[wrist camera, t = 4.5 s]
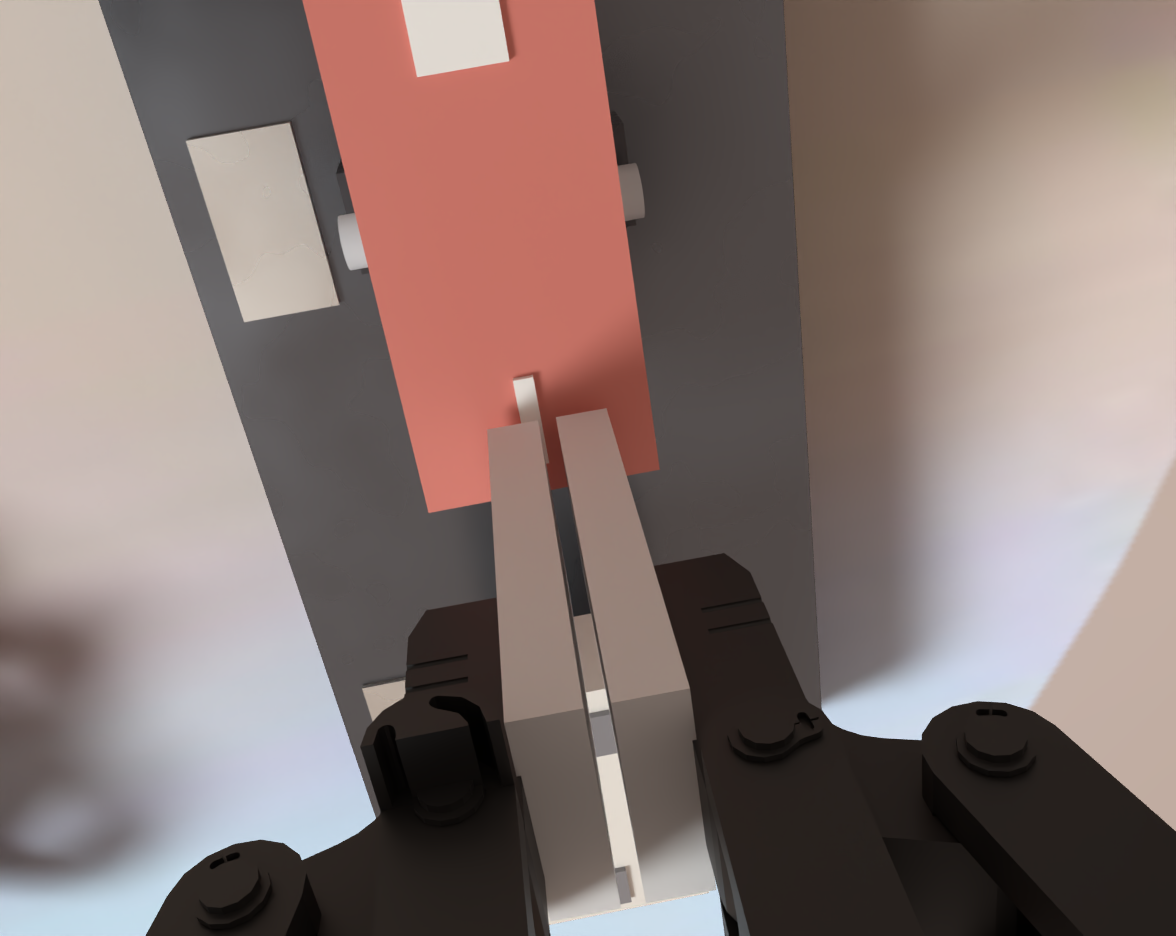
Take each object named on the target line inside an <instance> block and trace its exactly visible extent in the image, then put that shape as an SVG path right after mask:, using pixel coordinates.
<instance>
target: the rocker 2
mask: <svg viewBox="0 0 1176 936" xmlns="http://www.w3.org/2000/svg"><path fill="white" fill-rule="evenodd" d="M574 623H575V629H576V635H577V641H578V647H579V653H580V659H581V666H582V672H583V678H584V684H585V690H586V696H587V702H588V708H589V714H590V721H591V727H592V733H593V739H594V745H595V751H596V757H597V763H598V770H599V776H600V782H601V788H602V794H603V800H604V806H605V812H606V818H607V825H608V831H609V837H610V843H611V849H612V855H613V861H614V867H615V873H616V880H617V886H618V892H619V898H620V904H621V908H619V909H614V910H609V911H603V912H598V913H593V914H588V915H582V916H577V917H572V918H567V919H561V920H556V921H550V917H549V913H548V919H549V925H551V924H556V923H561V922H566V921H571V920H576V919H581V918H586V917H591V916H596V915H601V914H606V913H611V912H616V911H621V910H626V909H631V908H636V907H641V906H646V905H651V904H656V903H661V902H666V901H671V900H676V899H681V898H686V897H691V896H696V895H701V894H706V893H709V891H707V892H702V893H697V894H692V895H687V896H681V897H676V898H671V899H666V900H660V901H655V902H650V903H646V901H645V896H644V890H643V885H642V880H641V875H640V869H639V864H638V859H637V853H636V848H635V843H634V838H633V832H632V827H631V822H630V817H629V811H628V806H627V801H626V795H625V790H624V785H623V780H622V774H621V769H620V764H619V759H618V753H617V748H616V743H615V738H614V732H613V727H612V722H611V716H610V711H609V706H608V701H607V695H606V690H605V685H604V680H603V674H602V669H601V664H600V658H599V653H598V648H597V643H596V637H595V632H594V627H593V622H592V616H591V614H586V615H581V616H575V617H574Z"/></svg>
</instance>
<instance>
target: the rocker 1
mask: <svg viewBox="0 0 1176 936" xmlns="http://www.w3.org/2000/svg"><path fill="white" fill-rule="evenodd" d="M302 1H303V5H304V9H305V13H306V17H307V21H308V25H309V29H310V33H311V37H312V41H313V46H314V50H315V54H316V58H317V62H318V66H319V70H320V74H321V78H322V82H323V86H324V90H325V94H326V98H327V102H328V106H329V111H330V115H331V119H332V123H333V127H334V131H335V135H336V139H337V143H338V147H339V151H340V155H341V159H342V163H343V167H344V171H345V175H346V180H347V184H348V188H349V192H350V196H351V200H352V204H353V208H354V212H355V213H351V214H345V215H340V216H338V230H339V236H340V241H341V246H342V250H343V254H344V257H345V260H346V263H347V266H348V268H349V269H350V270H356V269H362V268H367V267H368V269H369V273H370V277H371V281H372V285H373V289H374V293H375V297H376V301H377V305H378V309H379V314H380V318H381V322H382V326H383V330H384V334H385V338H386V342H387V346H388V350H389V354H390V358H391V362H392V366H393V370H394V374H395V378H396V383H397V387H398V391H399V395H400V399H401V403H402V407H403V411H404V415H405V419H406V423H407V427H408V431H409V435H410V439H411V443H412V447H413V452H414V456H415V460H416V464H417V468H418V472H419V476H420V480H421V484H422V488H423V492H424V496H425V500H426V504H427V508H428V512H429V513H431V512H437V511H442V510H447V509H453V508H458V507H463V506H469V505H474V504H479V503H485V502H490V501H491V487H490V469H489V452H488V435H487V429H493V428H498V427H504V426H509V425H515V424H521V423H526V422H532V421H537V420H538V423H539V428H540V433H541V439H542V444H543V450H544V455H545V460H546V466H547V471H548V477H549V482H550V487H551V490H554V489H559V488H564V487H568V484H567V478H566V472H565V467H564V461H563V455H562V450H561V444H560V438H559V433H558V427H557V421H556V417H560V416H565V415H571V414H576V413H582V412H588V411H593V410H599V409H604V408H607V412H608V415H609V418H610V422H611V425H612V428H613V432H614V435H615V438H616V442H617V445H618V449H619V452H620V455H621V459H622V462H623V465H624V469H625V472H626V475H627V476H628V475H634V474H639V473H644V472H650V471H655V470H660V468H659V461H658V453H657V446H656V439H655V432H654V425H653V417H652V410H651V403H650V396H649V389H648V382H647V374H646V367H645V360H644V353H643V346H642V339H641V331H640V324H639V317H638V310H637V303H636V296H635V288H634V281H633V274H632V267H631V260H630V253H629V245H628V238H627V231H626V224H625V221H628V220H634V219H639V218H644V216H645V207H644V197H643V190H642V184H641V179H640V174H639V170H638V167H637V165H636V163H631V164H626V165H620V166H617V159H616V152H615V145H614V138H613V131H612V124H611V116H610V109H609V102H608V95H607V88H606V81H605V73H604V66H603V59H602V52H601V45H600V38H599V30H598V23H597V16H596V9H595V2H594V0H302Z"/></svg>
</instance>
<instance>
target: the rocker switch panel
mask: <svg viewBox="0 0 1176 936" xmlns="http://www.w3.org/2000/svg"><path fill="white" fill-rule="evenodd" d="M594 2H595V9H596V16H597V23H598V30H599V38H600V45H601V52H602V59H603V66H604V73H605V81H606V88H607V95H608V102H609V109H610V116H611V124H612V131H613V138H614V145H615V152H616V159H617V166H620V165H626V164H631V163H636V165H637V167H638V170H639V174H640V179H641V184H642V190H643V197H644V207H645V216H644V218H639V219H634V220H628V221H625V224H626V231H627V238H628V245H629V253H630V260H631V267H632V274H633V281H634V288H635V296H636V303H637V310H638V317H639V324H640V331H641V339H642V346H643V353H644V360H645V367H646V374H647V382H648V389H649V396H650V403H651V410H652V417H653V425H654V432H655V439H656V446H657V453H658V461H659V468H660V470H655V471H650V472H644V473H639V474H634V475H628V476H627V479H628V482H629V485H630V489H631V492H632V495H633V499H634V502H635V506H636V509H637V512H638V516H639V519H640V522H641V526H642V529H643V532H644V536H645V539H646V542H647V546H648V549H649V553H650V556H651V559H652V563H653V566H656V565H661V564H667V563H672V562H678V561H683V560H689V559H694V558H700V557H705V556H711V555H716V554H722V553H725V554H726V555H728V556H729V557H731V558H732V559H733V560H735V561H736V562H737V563H739V564H740V565H741V566H743V567H744V568H745V569H747V570H748V571H749V572H750V573H751V575H752V577H753V579H754V582H755V584H756V586H757V589H758V591H759V593H760V595H761V599H762V602H764V604H765V607H766V609H767V611H768V614H769V616H770V619H771V623H773V625H774V627H775V629H776V632H777V634H778V636H779V638H780V641H781V643H782V645H783V648H784V650H785V652H786V654H787V657H788V659H789V661H790V663H791V666H792V668H793V670H794V673H795V675H796V677H797V679H798V682H799V684H800V686H801V688H802V691H803V693H804V695H805V698H806V699H807V701H808V702H809V703H810V704H812V705H814V706H816V707H817V708H819V709H821V691H820V672H819V654H818V635H817V617H816V598H815V579H814V561H813V542H812V524H811V505H810V487H809V468H808V450H807V431H806V413H805V394H804V376H803V357H802V339H801V320H800V302H799V283H798V265H797V246H796V228H795V209H794V190H793V172H792V153H791V135H790V116H789V98H788V79H787V61H786V42H785V24H784V5H783V0H594ZM99 3H100V6H101V9H102V12H103V15H104V18H105V21H106V24H107V27H108V30H109V33H110V36H111V39H112V42H113V45H114V48H115V50H116V53H117V56H118V59H119V62H120V65H121V68H122V71H123V74H124V77H125V80H126V83H127V86H128V89H129V92H130V95H131V98H132V101H133V103H134V106H135V109H136V112H137V115H138V118H139V121H140V124H141V127H142V130H143V133H144V136H145V139H146V142H147V145H148V148H149V151H150V154H151V156H152V159H153V162H154V165H155V168H156V171H157V174H158V177H159V180H160V183H161V186H162V189H163V192H164V195H165V198H166V201H167V204H168V206H169V209H170V212H171V215H172V218H173V221H174V224H175V227H176V230H177V233H178V236H179V239H180V242H181V245H182V248H183V251H184V254H185V257H186V259H187V262H188V265H189V268H190V271H191V274H192V277H193V280H194V283H195V286H196V289H197V292H198V295H199V298H200V301H201V304H202V307H203V310H204V312H205V315H206V318H207V321H208V324H209V327H210V330H211V333H212V336H213V339H214V342H215V345H216V348H217V351H218V354H219V357H220V360H221V363H222V365H223V368H224V371H225V374H226V377H227V380H228V383H229V386H230V389H231V392H232V395H233V398H234V401H235V404H236V407H237V410H238V413H239V416H240V418H241V421H242V424H243V427H244V430H245V433H246V436H247V439H248V442H249V445H250V448H251V451H252V454H253V457H254V460H255V463H256V466H257V468H258V471H259V474H260V477H261V480H262V483H263V486H264V489H265V492H266V495H267V498H268V501H269V504H270V507H271V510H272V513H273V516H274V519H275V521H276V524H277V527H278V530H279V533H280V536H281V539H282V542H283V545H284V548H285V551H286V554H287V557H288V560H289V563H290V566H291V569H292V572H293V574H294V577H295V580H296V583H297V586H298V589H299V592H300V595H301V598H302V601H303V604H304V607H305V610H306V613H307V616H308V619H309V622H310V625H311V627H312V630H313V633H314V636H315V639H316V642H317V645H318V648H319V651H320V654H321V657H322V660H323V663H324V666H325V669H326V672H327V675H328V678H329V680H330V683H331V686H332V689H333V692H334V695H335V698H336V701H337V704H338V707H339V710H340V713H341V716H342V719H343V722H344V725H345V728H346V730H347V733H348V736H349V739H350V742H351V745H352V748H353V751H354V754H355V757H356V760H357V763H358V766H359V769H360V772H361V775H362V778H363V781H364V783H365V786H366V789H367V792H368V795H369V798H370V801H371V804H372V807H373V810H374V813H375V816H376V818H377V817H378V816H379V815H380V812H381V811H380V808H379V805H378V802H377V799H376V795H375V792H374V789H373V786H372V783H371V780H370V776H369V773H368V770H367V767H366V764H365V761H364V757H363V754H362V751H361V748H360V746H361V743H362V740H363V737H364V735H365V732H366V729H367V727H368V726H369V725H370V724H371V723H372V722H373V721H374V720H375V719H376V717H377V716H378V715H379V714H380V713H381V712H382V711H383V710H385V709H386V708H388V707H389V706H391V705H393V704H394V703H396V702H398V701H399V700H401V699H403V698H404V694H406V692H405V677H406V671H407V666H406V662H407V647H408V637H409V636H410V634H411V633H412V631H413V630H414V628H415V626H416V625H417V623H418V622H419V620H420V619H421V617H422V616H423V614H424V613H425V611H426V610H431V609H436V608H442V607H447V606H453V605H458V604H464V603H469V602H475V601H480V600H485V599H491V598H496V597H497V591H496V574H495V556H494V539H493V522H492V504H491V501H490V502H485V503H479V504H474V505H469V506H463V507H458V508H453V509H447V510H442V511H437V512H431V513H429V512H428V508H427V504H426V500H425V496H424V492H423V488H422V484H421V480H420V476H419V472H418V468H417V464H416V460H415V456H414V452H413V447H412V443H411V439H410V435H409V431H408V427H407V423H406V419H405V415H404V411H403V407H402V403H401V399H400V395H399V391H398V387H397V383H396V378H395V374H394V370H393V366H392V362H391V358H390V354H389V350H388V346H387V342H386V338H385V334H384V330H383V326H382V322H381V318H380V314H379V309H378V305H377V301H376V297H375V293H374V289H373V285H372V281H371V277H370V273H369V269H368V267H367V268H362V269H356V270H350V269H349V268H348V266H347V263H346V260H345V257H344V254H343V250H342V246H341V241H340V236H339V230H338V216H340V215H345V214H351V213H355V212H354V208H353V204H352V200H351V196H350V192H349V188H348V184H347V180H346V175H345V171H344V167H343V163H342V159H341V155H340V151H339V147H338V143H337V139H336V135H335V131H334V127H333V123H332V119H331V115H330V111H329V106H328V102H327V98H326V94H325V90H324V86H323V82H322V78H321V74H320V70H319V66H318V62H317V58H316V54H315V50H314V46H313V41H312V37H311V33H310V29H309V25H308V21H307V17H306V13H305V9H304V5H303V1H302V0H99ZM551 493H552V498H553V504H554V509H555V514H556V520H557V525H558V531H559V536H560V541H561V547H562V552H563V558H564V563H565V569H566V574H567V580H568V586H569V592H570V598H571V604H572V611H573V617H575V616H581V615H586V614H591V611H590V606H589V601H588V595H587V590H586V585H585V579H584V574H583V569H582V563H581V557H580V552H579V546H578V540H577V535H576V529H575V523H574V518H573V512H572V506H571V501H570V495H569V489H568V487H564V488H559V489H554V490H551ZM821 710H822V709H821Z"/></svg>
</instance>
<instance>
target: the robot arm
mask: <svg viewBox="0 0 1176 936" xmlns="http://www.w3.org/2000/svg"><path fill="white" fill-rule="evenodd" d="M556 421H557V427H558V433H559V438H560V444H561V450H562V455H563V461H564V467H565V472H566V478H567V484H568V489H569V495H570V501H571V506H572V512H573V518H574V523H575V529H576V535H577V540H578V546H579V552H580V557H581V563H582V569H583V574H584V579H585V585H586V590H587V595H588V601H589V606H590V611H591V616H592V622H593V627H594V632H595V637H596V643H597V648H598V653H599V658H600V664H601V669H602V674H603V680H604V685H605V690H606V695H607V701H608V706H609V711H610V716H611V722H612V727H613V732H614V738H615V743H616V748H617V753H618V759H619V764H620V769H621V774H622V780H623V785H624V790H625V795H626V801H627V806H628V811H629V817H630V822H631V827H632V832H633V838H634V843H635V848H636V853H637V859H638V864H639V869H640V875H641V880H642V885H643V890H644V896H645V901H646V903H650V902H655V901H660V900H666V899H671V898H676V897H681V896H687V895H692V894H697V893H702V892H707V891H713V890H716V884H717V888H718V891H719V895H720V902H721V909H722V917H723V925H724V933H725V936H1176V831H1175V830H1174V829H1172V828H1171V827H1170V826H1169V825H1168V824H1167V823H1165V822H1164V821H1163V820H1162V819H1161V818H1160V817H1159V816H1158V815H1157V814H1155V813H1154V812H1153V811H1152V810H1151V809H1150V808H1149V807H1147V806H1146V805H1145V804H1144V803H1143V802H1142V801H1141V800H1139V799H1138V798H1137V797H1136V796H1135V795H1134V794H1133V793H1131V792H1130V791H1129V790H1128V789H1127V788H1126V787H1125V786H1123V785H1122V784H1121V783H1120V782H1119V781H1118V780H1117V779H1116V778H1114V777H1113V776H1112V775H1111V774H1110V773H1109V772H1107V771H1106V770H1105V769H1104V768H1103V767H1102V766H1101V765H1100V764H1098V763H1097V762H1096V761H1095V760H1094V759H1093V758H1092V757H1091V756H1089V755H1088V754H1087V753H1086V752H1085V751H1084V750H1083V749H1081V748H1080V747H1079V746H1078V745H1077V744H1076V743H1075V742H1073V741H1072V740H1071V739H1070V738H1069V737H1068V736H1067V735H1066V734H1064V733H1063V732H1062V731H1061V730H1060V729H1059V728H1057V727H1056V726H1055V725H1054V724H1052V723H1051V722H1049V721H1047V720H1046V719H1044V718H1043V717H1041V716H1039V715H1038V714H1036V713H1035V712H1033V711H1030V710H1027V709H1024V708H1021V707H1017V706H1014V705H1011V704H1007V703H998V702H980V701H977V702H972V703H967V704H962V705H958V706H953V707H951V708H949V709H947V710H945V711H944V712H942V713H940V714H939V715H937V716H935V717H934V718H932V720H931V721H930V723H929V724H928V726H927V727H926V729H925V730H924V732H923V733H922V740H904V739H886V738H877V737H870V736H862V735H859V734H856V733H853V732H849V731H846V730H843V729H841V728H839V727H837V726H835V725H833V724H832V723H831V722H830V720H829V719H828V718H827V716H826V715H825V714H824V712H823V711H822V710H821V709H819V708H817V707H816V706H814V705H812V704H810V703H809V702H808V701H807V699H806V698H805V695H804V693H803V691H802V688H801V686H800V684H799V682H798V679H797V677H796V675H795V673H794V670H793V668H792V666H791V663H790V661H789V659H788V657H787V654H786V652H785V650H784V648H783V645H782V643H781V641H780V638H779V636H778V634H777V632H776V629H775V627H774V625H773V623H771V619H770V616H769V614H768V611H767V609H766V607H765V604H764V602H762V599H761V595H760V593H759V591H758V589H757V586H756V584H755V582H754V579H753V577H752V575H751V573H750V572H749V571H748V570H747V569H745V568H744V567H743V566H741V565H740V564H739V563H737V562H736V561H735V560H733V559H732V558H731V557H729V556H728V555H726V554H725V553H722V554H716V555H711V556H705V557H700V558H694V559H689V560H683V561H678V562H672V563H667V564H661V565H656V566H653V563H652V559H651V556H650V553H649V549H648V546H647V542H646V539H645V536H644V532H643V529H642V526H641V522H640V519H639V516H638V512H637V509H636V506H635V502H634V499H633V495H632V492H631V489H630V485H629V482H628V479H627V475H626V472H625V469H624V465H623V462H622V459H621V455H620V452H619V449H618V445H617V442H616V438H615V435H614V432H613V428H612V425H611V422H610V418H609V415H608V412H607V408H604V409H599V410H593V411H588V412H582V413H576V414H571V415H565V416H560V417H556ZM487 435H488V452H489V469H490V487H491V504H492V522H493V539H494V556H495V574H496V591H497V597H496V598H491V599H485V600H480V601H475V602H469V603H464V604H458V605H453V606H447V607H442V608H436V609H431V610H426V611H425V613H424V614H423V616H422V617H421V619H420V620H419V622H418V623H417V625H416V626H415V628H414V630H413V631H412V633H411V634H410V636H409V637H408V647H407V662H406V666H407V671H406V677H405V692H406V694H404V698H403V699H401V700H399V701H398V702H396V703H394V704H393V705H391V706H389V707H388V708H386V709H385V710H383V711H382V712H381V713H380V714H379V715H378V716H377V717H376V719H375V720H374V721H373V722H372V723H371V724H370V725H369V726H368V727H367V729H366V732H365V735H364V737H363V740H362V743H361V746H360V748H361V751H362V754H363V757H364V761H365V764H366V767H367V770H368V773H369V776H370V780H371V783H372V786H373V789H374V792H375V795H376V799H377V802H378V805H379V808H380V811H381V812H380V815H379V816H378V817H377V818H376V819H375V820H374V821H373V822H372V823H371V824H369V825H368V826H367V827H365V828H364V829H363V830H362V831H360V832H359V833H358V834H356V835H354V836H352V837H351V838H349V839H347V840H345V841H343V842H341V843H340V844H338V845H335V846H333V847H331V848H329V849H326V850H324V851H322V852H320V853H318V854H315V855H313V856H311V857H309V858H306V859H304V860H301V857H300V855H299V854H298V853H296V852H295V851H294V850H292V849H291V848H289V847H288V846H287V845H285V844H284V843H278V842H272V841H266V840H256V841H250V842H244V843H238V844H234V845H231V846H229V847H227V848H225V849H222V850H220V851H218V852H216V853H214V854H211V855H209V856H207V857H206V858H205V859H203V860H202V861H201V862H199V863H198V864H197V865H195V866H194V867H193V868H192V869H190V870H189V871H188V872H186V873H185V874H184V875H183V876H182V878H181V879H180V880H179V882H178V883H177V884H176V885H175V887H174V888H173V889H172V891H171V892H170V893H169V895H168V896H167V898H166V899H165V901H164V903H163V905H162V907H161V909H160V910H159V912H158V914H157V916H156V918H155V919H154V921H153V923H152V925H151V927H150V929H149V930H148V932H147V934H146V936H550V931H549V919H548V913H549V917H550V921H556V920H561V919H567V918H572V917H577V916H582V915H588V914H593V913H598V912H603V911H609V910H614V909H619V908H621V904H620V898H619V892H618V886H617V880H616V873H615V867H614V861H613V855H612V849H611V843H610V837H609V831H608V825H607V818H606V812H605V806H604V800H603V794H602V788H601V782H600V776H599V770H598V763H597V757H596V751H595V745H594V739H593V733H592V727H591V721H590V714H589V708H588V702H587V696H586V690H585V684H584V678H583V672H582V666H581V659H580V653H579V647H578V641H577V635H576V629H575V623H574V617H573V611H572V604H571V598H570V592H569V586H568V580H567V574H566V569H565V563H564V558H563V552H562V547H561V541H560V536H559V531H558V525H557V520H556V514H555V509H554V504H553V498H552V493H551V487H550V482H549V477H548V471H547V466H546V460H545V455H544V450H543V444H542V439H541V433H540V428H539V423H538V420H537V421H532V422H526V423H521V424H515V425H509V426H504V427H498V428H493V429H487ZM714 876H715V877H714ZM715 880H716V884H715Z"/></svg>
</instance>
